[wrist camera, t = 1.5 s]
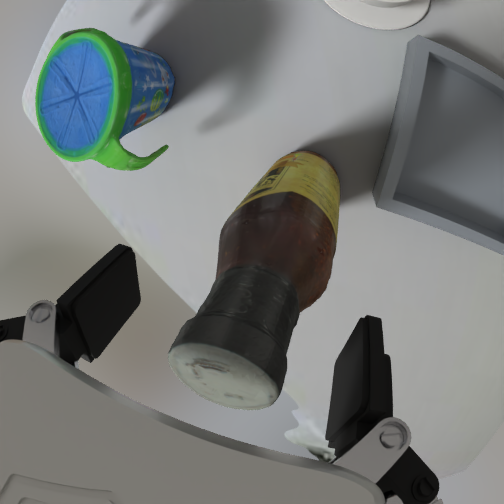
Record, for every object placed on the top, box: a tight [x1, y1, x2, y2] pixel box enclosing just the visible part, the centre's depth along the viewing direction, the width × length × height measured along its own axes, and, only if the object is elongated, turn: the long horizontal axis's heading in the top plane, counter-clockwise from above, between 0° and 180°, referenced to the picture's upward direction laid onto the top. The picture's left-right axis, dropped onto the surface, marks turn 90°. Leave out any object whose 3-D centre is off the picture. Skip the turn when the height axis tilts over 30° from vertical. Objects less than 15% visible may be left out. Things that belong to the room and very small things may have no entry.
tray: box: [372, 35, 504, 255], centre depth 17 cm, size 16×14×4 cm
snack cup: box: [36, 28, 175, 171], centre depth 20 cm, size 16×10×10 cm
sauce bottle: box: [168, 151, 340, 410], centre depth 17 cm, size 6×6×20 cm
